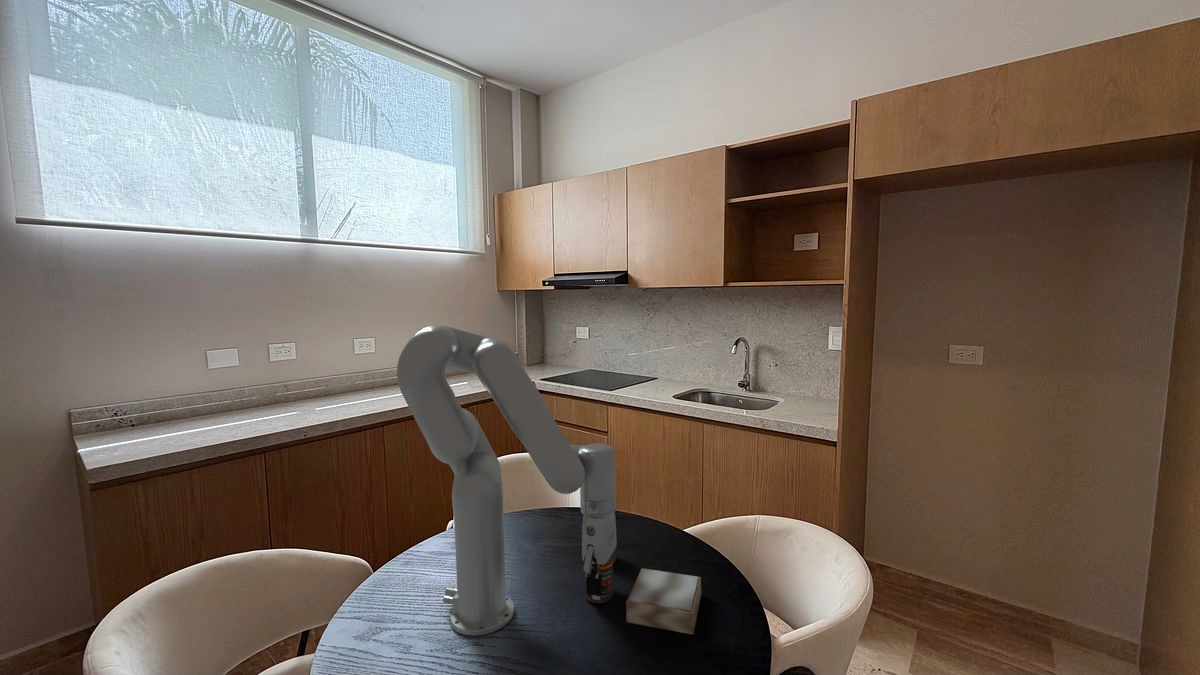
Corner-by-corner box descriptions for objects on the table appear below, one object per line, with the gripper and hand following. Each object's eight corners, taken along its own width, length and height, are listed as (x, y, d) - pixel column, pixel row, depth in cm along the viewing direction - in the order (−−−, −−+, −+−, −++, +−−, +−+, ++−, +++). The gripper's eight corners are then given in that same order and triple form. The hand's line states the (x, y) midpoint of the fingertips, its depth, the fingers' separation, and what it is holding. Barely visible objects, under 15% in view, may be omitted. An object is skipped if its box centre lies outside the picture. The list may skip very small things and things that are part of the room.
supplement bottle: (601, 608, 98) (601, 555, 97) (579, 598, 101) (578, 546, 101) (618, 594, 103) (618, 543, 102) (596, 585, 106) (596, 536, 106)
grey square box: (626, 621, 94) (626, 600, 93) (641, 585, 106) (641, 566, 106) (693, 634, 89) (692, 612, 89) (701, 595, 102) (700, 575, 102)
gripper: (602, 522, 92) (603, 613, 93) (625, 490, 108) (626, 568, 109) (566, 517, 94) (567, 606, 95) (594, 487, 110) (595, 563, 111)
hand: (599, 584), depth 102 cm, fingers closed on supplement bottle, 6 cm apart
